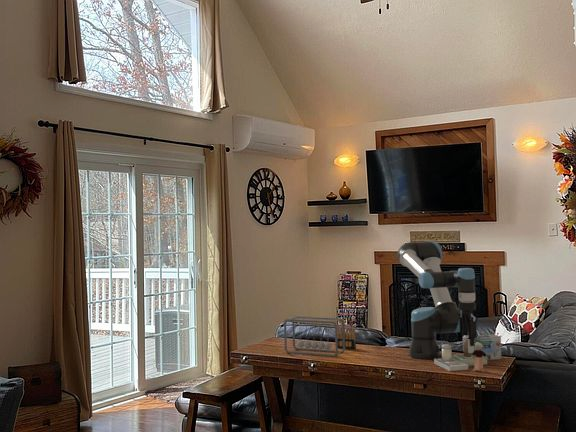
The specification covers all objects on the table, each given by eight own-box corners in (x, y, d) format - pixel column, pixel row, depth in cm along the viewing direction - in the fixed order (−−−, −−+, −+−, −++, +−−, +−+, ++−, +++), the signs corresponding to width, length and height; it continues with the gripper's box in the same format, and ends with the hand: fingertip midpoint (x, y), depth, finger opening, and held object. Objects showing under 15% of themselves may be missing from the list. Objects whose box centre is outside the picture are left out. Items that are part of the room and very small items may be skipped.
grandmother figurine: (469, 371, 278) (468, 342, 278) (471, 369, 281) (470, 340, 282) (487, 372, 274) (486, 343, 274) (489, 370, 278) (488, 342, 278)
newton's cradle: (284, 353, 329) (283, 318, 329) (293, 349, 338) (292, 316, 339) (337, 357, 315) (336, 321, 315) (345, 353, 324) (344, 318, 325)
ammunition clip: (336, 348, 338) (335, 325, 338) (337, 347, 340) (336, 325, 340) (354, 349, 333) (354, 326, 333) (356, 348, 335) (355, 325, 335)
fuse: (440, 363, 294) (439, 344, 294) (449, 363, 295) (448, 343, 295) (444, 366, 290) (444, 346, 290) (453, 365, 290) (453, 345, 290)
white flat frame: (434, 363, 295) (434, 357, 295) (452, 362, 297) (452, 356, 297) (449, 371, 279) (449, 365, 279) (468, 369, 281) (468, 363, 281)
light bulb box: (481, 360, 298) (481, 337, 298) (474, 357, 305) (473, 335, 305) (502, 358, 301) (501, 336, 301) (494, 356, 307) (493, 333, 307)
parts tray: (451, 361, 299) (451, 354, 299) (474, 359, 301) (474, 352, 301) (463, 366, 287) (462, 359, 287) (487, 364, 290) (487, 358, 290)
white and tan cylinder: (471, 358, 297) (470, 334, 297) (475, 360, 293) (474, 336, 293) (462, 358, 296) (461, 335, 296) (466, 360, 292) (466, 337, 292)
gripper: (451, 299, 302) (452, 348, 302) (468, 304, 285) (470, 356, 285) (465, 298, 304) (467, 347, 304) (483, 303, 287) (485, 354, 287)
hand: (468, 351), depth 294 cm, fingers closed on white and tan cylinder, 4 cm apart
